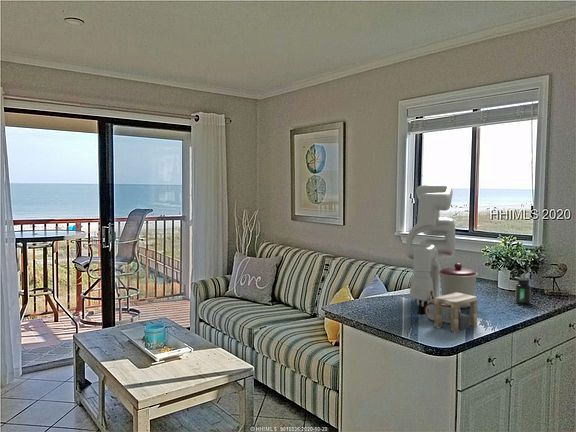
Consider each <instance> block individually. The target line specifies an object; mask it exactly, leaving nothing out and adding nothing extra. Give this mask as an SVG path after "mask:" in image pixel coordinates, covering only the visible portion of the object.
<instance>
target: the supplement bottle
mask: <svg viewBox="0 0 576 432" xmlns="http://www.w3.org/2000/svg"><path fill="white" fill-rule="evenodd" d="M514 295H515V298H514V299H515V300H514V301H515V303H516V304H518V305H524V306H529V305H531V303H532V286H531V285H530V280H529V279H528V278H517V284H515V294H514Z"/></svg>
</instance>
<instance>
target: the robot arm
mask: <svg viewBox="0 0 576 432" xmlns="http://www.w3.org/2000/svg"><path fill="white" fill-rule="evenodd" d="M415 190H416V191H415V194H416V197H417V199H418V206H417V219H416V220H417V221H416V224H415V225H414V226H413V227H412V228H411V229H410V230H409V232H408V233H407V236H406V239H405V240H406V241H405V249H404V250H405V256H406V259H407V260H409V261H413V270H412V271H411V272H412V274H413V275H412V277H411V281H410V287H409V289H410V290H409V291H410V292H409V296H410V298H412V300H413V301H415V302H416V305H417V306H418V308H417V309H418V313H417V314H418V316H419V315H421V316H424V315H426V314H425V306H426V305H427V304H428V303H430V302H432V301H435V297H439V296H442V294H441V278H440V274H439V271H441V265H440V261H438V260H437V258H452V257H454V256H455V255H456V224H455V221H454V219H452V218H450V217H441V215H440V214H441V213H440V212H442V211H449V210H450V207H451V205H452V199H453V187H452V186H451V185H449V184H423V185H419V186H417V187H416V188H415ZM422 233H423V235H425V236H428V237H429V238H424V239H422V240H420V241H419V243H418V244H417V243H413V241H414V239H415V237H416V236H418V235H419V234H422ZM431 237H444V238H431Z"/></svg>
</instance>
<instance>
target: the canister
mask: <svg viewBox="0 0 576 432" xmlns="http://www.w3.org/2000/svg"><path fill="white" fill-rule="evenodd" d="M439 274H440V289H441V295H442V296H443V295H447V294H451V293H455V292H458V293H462V294H467V295H472V296H475V291H476V283H477V277H478V275H479V273H478V272H476V271H475V270H474V269H470V268H467V267H466V268H465V267H463V265H462V263H460V262H455V264H454V265H453V267H444V268H442V269H440V271H439ZM465 308H470V302H469V303H465V304H461V305H460V309H465Z"/></svg>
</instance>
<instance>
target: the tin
mask: <svg viewBox="0 0 576 432" xmlns="http://www.w3.org/2000/svg"><path fill="white" fill-rule="evenodd" d="M424 315H425V316H426V318H427V319H429V320H431V321H433V322H434V321H435V301H432V302H430V303H428V304H427V305H426V306H425V314H424ZM459 316H461V311H460V312H459V310H458V317H459ZM441 324H446V325H447V324H448V325H451V305H449V304H445V303H442V323H441Z"/></svg>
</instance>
